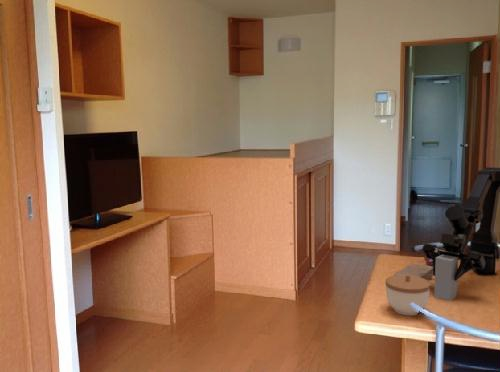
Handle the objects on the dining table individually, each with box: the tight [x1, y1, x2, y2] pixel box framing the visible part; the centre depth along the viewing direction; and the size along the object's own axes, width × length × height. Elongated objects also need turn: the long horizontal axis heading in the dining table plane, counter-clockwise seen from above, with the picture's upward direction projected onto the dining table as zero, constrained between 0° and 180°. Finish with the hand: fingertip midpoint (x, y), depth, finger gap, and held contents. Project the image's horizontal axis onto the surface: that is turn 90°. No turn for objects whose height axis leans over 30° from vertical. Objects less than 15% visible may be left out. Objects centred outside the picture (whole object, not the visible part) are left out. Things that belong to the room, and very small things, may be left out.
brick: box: [393, 262, 434, 282], centre depth 165 cm, size 17×8×5 cm, turn 138°
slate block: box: [433, 254, 459, 302], centre depth 150 cm, size 5×5×13 cm
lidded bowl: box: [385, 275, 431, 316], centre depth 140 cm, size 13×13×11 cm
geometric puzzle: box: [422, 254, 433, 266], centre depth 183 cm, size 7×7×8 cm
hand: (444, 277), depth 149 cm, fingers open, 6 cm apart
